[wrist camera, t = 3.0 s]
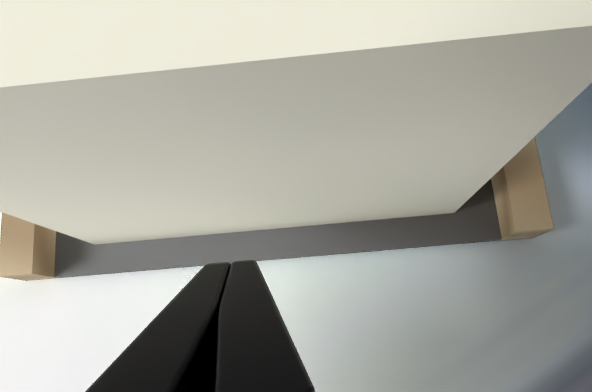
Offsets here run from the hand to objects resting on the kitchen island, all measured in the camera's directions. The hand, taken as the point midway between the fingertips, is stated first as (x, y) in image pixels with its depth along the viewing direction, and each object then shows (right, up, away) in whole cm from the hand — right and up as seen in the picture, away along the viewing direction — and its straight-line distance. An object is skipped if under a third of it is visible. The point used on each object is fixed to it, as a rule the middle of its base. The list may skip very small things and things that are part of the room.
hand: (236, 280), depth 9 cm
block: (0, +3, +7) cm, 8 cm away
